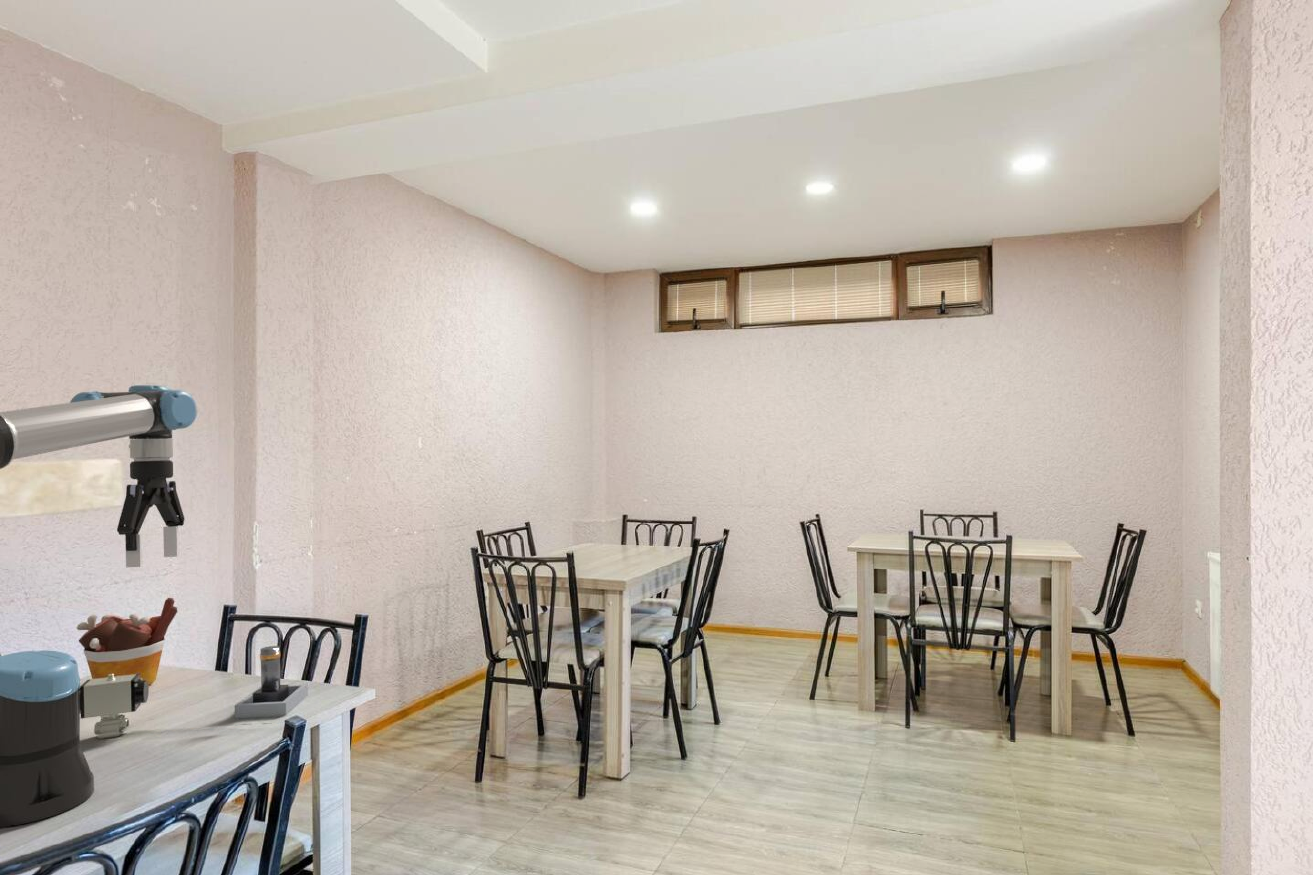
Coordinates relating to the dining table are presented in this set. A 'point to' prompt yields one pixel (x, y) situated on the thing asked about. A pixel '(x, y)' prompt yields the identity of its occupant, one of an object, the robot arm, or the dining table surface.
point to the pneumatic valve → (112, 701)
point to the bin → (271, 704)
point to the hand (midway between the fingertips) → (153, 561)
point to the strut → (270, 677)
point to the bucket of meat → (126, 643)
